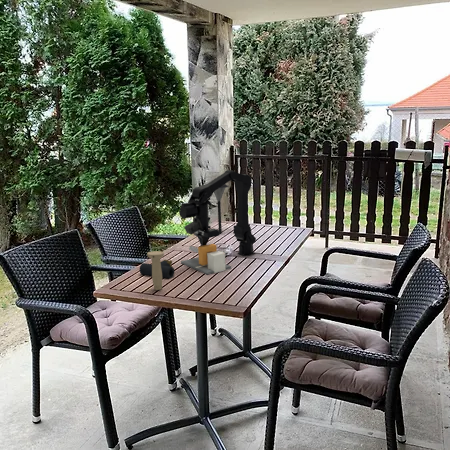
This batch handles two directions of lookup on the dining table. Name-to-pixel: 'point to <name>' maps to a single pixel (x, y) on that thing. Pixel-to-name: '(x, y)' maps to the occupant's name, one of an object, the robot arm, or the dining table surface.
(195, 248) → the pipe
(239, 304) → the dining table surface
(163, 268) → the pipe connector
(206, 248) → the collar
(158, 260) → the handle
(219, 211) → the solar garden light
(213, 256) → the block
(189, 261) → the mat
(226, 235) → the dining table surface
